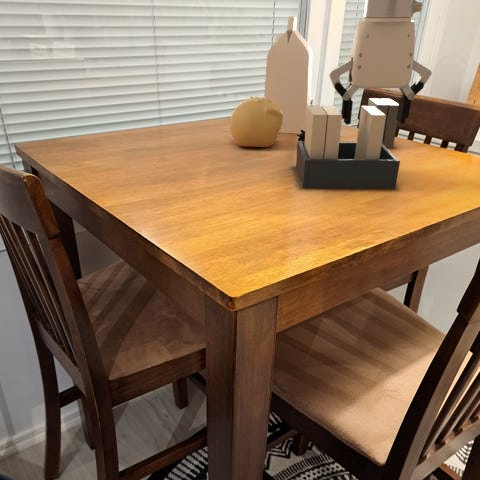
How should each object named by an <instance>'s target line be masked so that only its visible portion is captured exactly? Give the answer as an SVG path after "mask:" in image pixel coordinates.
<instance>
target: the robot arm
mask: <svg viewBox="0 0 480 480" xmlns="http://www.w3.org/2000/svg"><path fill="white" fill-rule="evenodd" d="M422 9H423V2H421V1H417V0H365V2H364V11H363V18H362V19H363V20H359V21H357V24H356V28H355V31H354V36H353V41H352V46H351V52H350V59H349V60H347V61H346V62H344V63H342V64H340V65H338V66H337V67H335V68H334V69H331V70H330V71H329V72H328V76H329V78H330V81H331V84H332V86H333V88H334V90H335V91H336V92H337V93H338V94H339V96H340V97H341V98H342V101H341V110H340V111H341V112H340V113H341V114H342V120H343V123H344V124H345V125H346V126H347V125H351V124H352V116H353V115H352V113H353V105H354V101H353V100H352V97H353V95H354V94H355V93H356V92H358V90H359V89H399V91H400V93H401V94H402V95H401V96H400V98H399V100H398V104H399V106H398V112H397V119H396V120H397V123H399V124H400V125H405V124H406V119H408V118H409V115H410V109H411V104H412V100H414V98H415V97H416V95H417V94H419V93H420V92H421V91H422V90H423V89H424V87H425V85H426V84H427V82H428V80H429V79H430V77H432V73H433V72H432V70H431V69H429V68H427V67H425V66H424V65H423V64H421V63H420V62H418V61H416V60H414V59H415V43H416V25H415V24H416V21H415V20H412V18H413V16H414V14H415V13H420V12H421V11H422ZM413 71H414V72H415V73H417V74H418V78H417V80H416V81H415V82H414V83H413V84H412V85H411V86H410V83H411V80H412V75H413ZM347 72H348V73H347ZM346 73H347V80H348V84H347V85H346V86H345V87H344V85H343V84H342V82H341V79H340V77H341V76H342V75H344V74H346Z"/></svg>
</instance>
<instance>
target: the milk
mask: <svg viewBox="0 0 480 480" xmlns="http://www.w3.org/2000/svg"><path fill="white" fill-rule="evenodd" d="M297 23H298V16H288V21H287V27H286V31H285V32H283V31H280V32H279V33H278V34H277V35H276V36H275V38H274V39H273V42H274V44H272V46H271V47H270V48H269V49H268V51H267V53H266V66H265V67H266V68H265V79H264V80H265V81H264V96H263V97H265V98H268V99H270V100H271V102H272V103H273V104H274V105H276V107H278V108H279V109H280V110H281V111H282V113H283V119H282V126H281V129H280V130H279V133H278V134H294V135H295V134H296V135H300V134H302V133H301V132H300V131H301V130H303V131H306V117H307V106H311V101H312V75H313V48H312V47H311V45H310V44H309V43H308V41H306V39H305V38H304V37H303V35H302V34H301V33H300V32H299V30H298V29H297Z"/></svg>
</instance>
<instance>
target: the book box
mask: <svg viewBox="0 0 480 480" xmlns="http://www.w3.org/2000/svg"><path fill="white" fill-rule="evenodd" d="M356 143H357V141H339V150H338V159H309V158H308V156H307V153H306V151H305V149H304V144H305V142H302V141H297V143H296V144H297V146H296V158H295V159H296V160H295V168H296V173H297V175H298V178H299V182H300V185H301V187H302V189H305V190H306V189H307V190H309V189H310V190H312V189H314V190H319V189H320V190H396V187H397V181H398V174H399V170H400V165H401V160H400V159H399V158H398V157H397V156H396V155H395V154H394V153H393V152H392V151H391V150H390V148H387V147H386V146H385V145H384V144H383V143H382V144H381V151H380V157H379V160H378V159H355V151H356Z"/></svg>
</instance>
